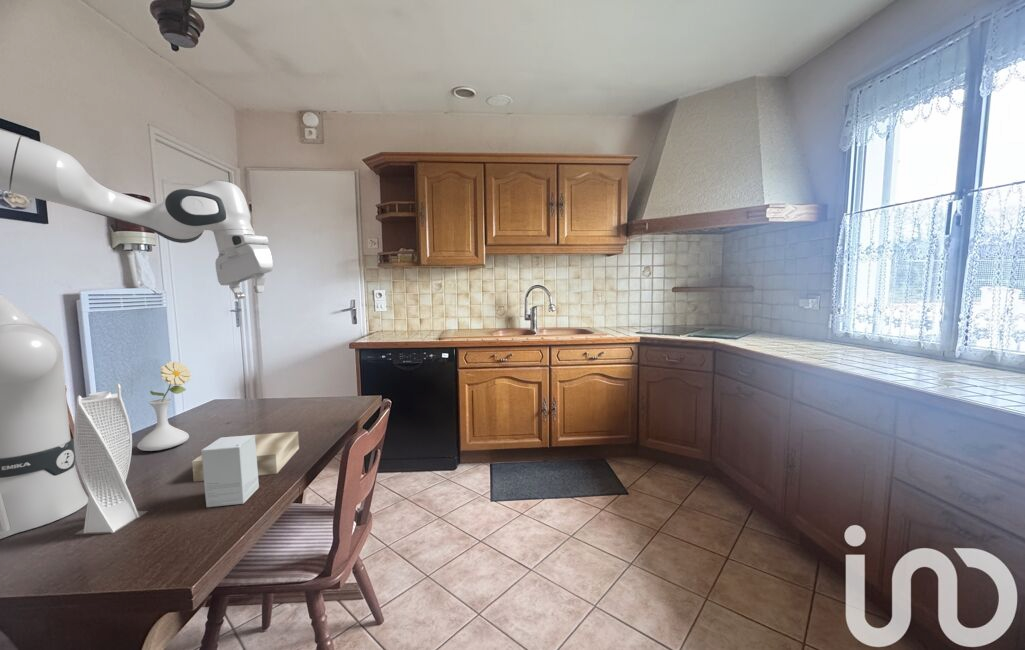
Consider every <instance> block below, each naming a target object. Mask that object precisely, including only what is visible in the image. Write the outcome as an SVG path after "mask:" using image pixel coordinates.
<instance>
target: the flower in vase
mask: <svg viewBox="0 0 1025 650" xmlns="http://www.w3.org/2000/svg"><path fill="white" fill-rule="evenodd" d="M160 371H161V372H160V375H161V377H160V378H161V379H162V380H163V381H164V382H167V384H168V388H167V390H166V392H165V393H164V392H156V391H153V390H150V395H153V396H161V397H162V398H159V399H154V400H151V401H148V404H149V405H150V406H152V407H153V409H154V411H155V414H156V415H155V416H156V426H155V427H154V428H153V430H152V431H150V432H149V433H148V434H146V435H145V436H144V437H143V438H142V439H141V440H140V441H139V442H138V444H137V445H136V448H138V449H139V450H140V451H147V452H148V451H149V452H152V451H153V452H154V451H162V450H167V449H171V448H174V447H176V446H179V445H181V444H183V443H185V442H186V441H188V440H189V438H190V435H189V433H188V432H186V431H184V430H181V429H180V428H177V427H175V426H173V425H171V424H170V423H169V420H168V410H169V409H168V407H169V405H170V403H171V402H172V401H173V398H166V396H167V394H168V393H169V392H172V393H173V394H176V395H178V394H181V393H183V392H185V391H186V390H187V389H186V388H185V387H183V386H184V385H185V384H186V383H188V382H189V381H190V380H192V379H191V376H192V373H191V370H190V369H189V368H188V366H187V365H184V364H183V363H182V362H178V361H174V362H173V361H168V362H166V363H165V365H162V366H161V367H160ZM171 385H173V386H171Z"/></svg>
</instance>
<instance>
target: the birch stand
mask: <svg viewBox="0 0 1025 650" xmlns="http://www.w3.org/2000/svg"><path fill="white" fill-rule="evenodd" d="M249 435H250V434H247V435H244V436H249ZM254 435H255V443H256V455H257V468H258V477H259V476H266V475H267V476H268V475H277V474H279V472H280V471H281V470H282V468H283V467H285V465H286V464H287V463H288V462H289V460H290V459H291V458H292V457H293V456H294V455H295V454H296V453H297V451H298V450H299V449H300V445H299V444H300V442H299V431H289V432H276V433H275V432H272V433H261V434H259V433H258V434H254ZM236 436H237V435H234V436H233V435H232V436H231V437H236ZM191 465H192V475H193V476H192V477H193V482H204V476H203V464H202V455H199V456H198V457H196V458H195V459H193V460H192V461H191Z"/></svg>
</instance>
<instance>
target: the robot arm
mask: <svg viewBox="0 0 1025 650" xmlns="http://www.w3.org/2000/svg"><path fill="white" fill-rule="evenodd" d="M0 191H4V192H8V193H12V194H16V195H20V196H23V197H28V198H33V199H36V200H37V199H39V200H42V201H46V202H51V203H55V204H60V205H62V206H63V205H64V206H67V207H71V208H76V209H78V210H79V209H80V210H81V211H82V210H83V211H85V212H89V213H92V214H95V215H99V216H102V217H106V218H108V219H109V218H110V219H113V220H117V221H120V222H123V223H127V224H131V225H134V226H138V227H141V228H144V229H147V230H149V231H151V232H153V233H155V234H157V235H158V236H161V237H162V238H165V240H167V241H171V242H174V243H180V244H188V243H192V242H194V241H196V240H198V239H199V238H200V237H202V235H203V233H204V231H211V232H213V235H214V239H215V243H216V247H217V251H218V257H217V258H216V259H215V263H214V264H215V272H216V277H217V282H218V283H219V285H220V286H229V289H230V290H231V292H232V293H233V294H234V299H235V300H243V299H245V297H246V296H245V292H244V291H242V289H241V283H244V282H245V281H248V280H251V279H254V286H253V290H254V293H256V294H261V293H264V292H265V290H266V289H265V286H264V285H265V279H266V277H265V274H268V273H270V272H272V271H273V268H274V262H273V256H272V253H271V249H270V247H269V246H268V245H269V237H267V236H264V235H256V232H255V230H254V229H253V226H252V224H251V216H252V215H251V213H250V209H249V206H248V203H247V199H246V197H245V195H244V193H243V191H242V190H241V188H240V187H239V186H237V185H236V184H234V183H231V182H229V181H226V180H221V179H220V180H219V179H214V180H213V179H212V180H208V181H206V182H205V183H203V184H202V185H200V186H196V187H191V188H179V189H176V190H173V191H171V192H170V193H168V195H167V196H166V197H165V198H164V199H163V201H162V202H160V203H154V202H149V201H145V200H143V199H139V198H137V197H133V196H130V195H128V194H124V193H122V192H118V191H116V190H113V189H110V188H107V187H106V186H104V185H102V184H101V183H99V182H97V181H96V180H95V179H94V178H93V177H92V176H91V175H90V174H89V173H88V172H87V170H86V169H85V168H84V167H83V165H82V164H81V162H79V161H78V160H77V159H76V158H75V157H73V156H72V155H71V154H69V153H67V152H65V151H63V150H61V149H60V148H57V147H54V146H51V145H49V144H47V143H44V142H41V141H38V140H35V139H33V138H29V137H26V136H23V135H22V136H21V135H20V134H16V133H13V132H9V131H5V130H2V129H0ZM75 463H76V457H75V450H74V438H72V437H71V430H70V420H69V411H68V401H67V389H66V377H65V366H64V355H63V348H62V346H61V343H60V341H58V338H57V337H56V335H54V333H52V332H51V331H50V330H48V329H47V328H46V327H45V326H43V325H42V324H41V323H39V322H38V321H37V320H35V319H34V318H32V317H31V316H30V315H29V314H27V313H26V312H25V311H24V310H22V309H21V308H19V307H18V306H16V305H15V304H14V303H13V302H11V301H10V300H9V299H7V298H6V297H5V296H3V295H2V294H0V540H2V539H5V538H7V537H10V536H12V535H15V534H18V533H22V532H26V531H29V530H32V529H36V528H39V527H42V526H44V525H48V524H51V523H53V522H56V521H58V520H61V519H63V518H65V517H68V516H69V515H71V514H73V513H75V512H77V511H79V510H81V509H82V508H83V507H85V506H87V505H88V498H89V495H87V493H86V492H85V490H84V487H83V486H82V482H81V480H80V478H79V475H78V472H77V468H76V464H75Z"/></svg>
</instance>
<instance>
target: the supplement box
mask: <svg viewBox="0 0 1025 650" xmlns="http://www.w3.org/2000/svg"><path fill="white" fill-rule="evenodd" d="M248 435H249V436H245V435H235V436H236V437H232V436H227V437H225V436H224V437H222V436H221V437H219V438H217V439H216V440H214V441H213V442H211V443H210V444H209V445H207V446H205V447H204V448H202V449H201V450H200V454H201V455H202V464H203V476H204V481H203V486H204V496H205V503H206V504H205V506H206V508H213V507H214V508H215V507H222V506H232V505H242V504H245V503H246V502H247V500H249V498H251V496H253V494H254V493H256V491H257V490H259V488H260V484H259V476H258V468H257V455H256V443H255V435H256V434H251V435H250V434H248ZM201 455H200V456H201Z"/></svg>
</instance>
